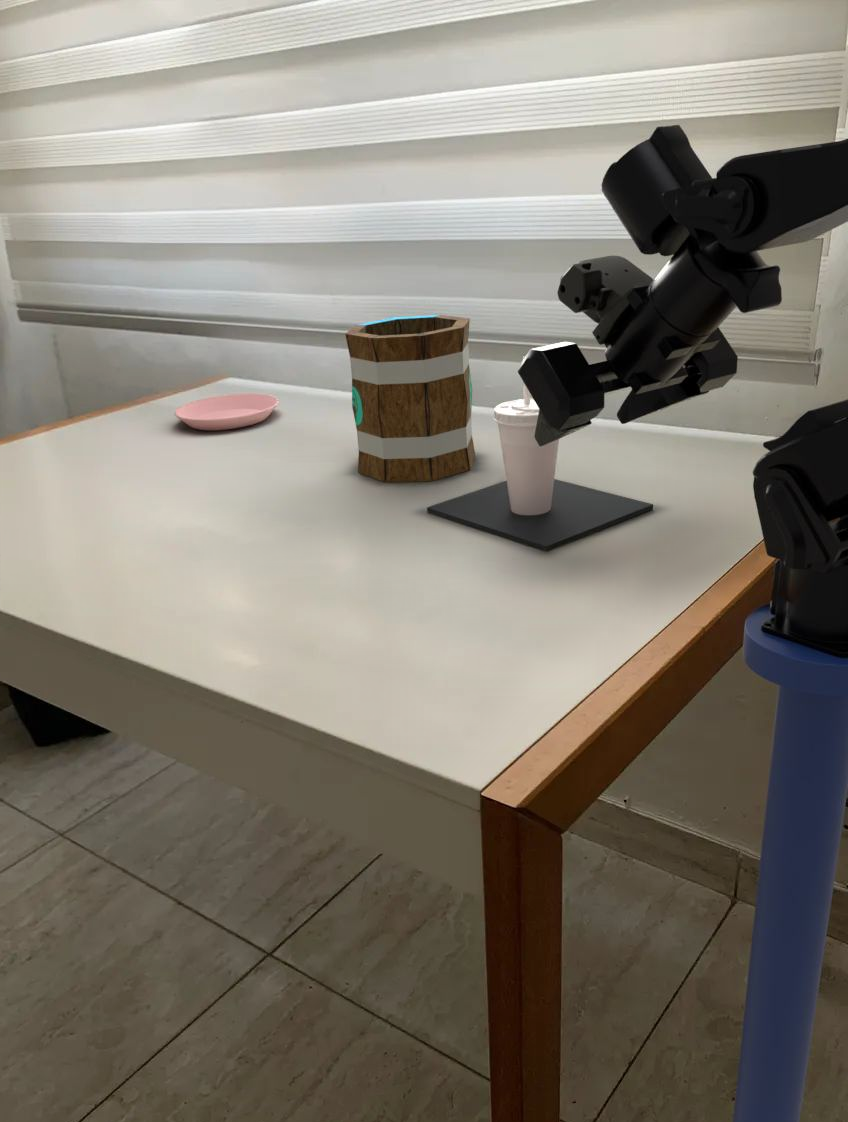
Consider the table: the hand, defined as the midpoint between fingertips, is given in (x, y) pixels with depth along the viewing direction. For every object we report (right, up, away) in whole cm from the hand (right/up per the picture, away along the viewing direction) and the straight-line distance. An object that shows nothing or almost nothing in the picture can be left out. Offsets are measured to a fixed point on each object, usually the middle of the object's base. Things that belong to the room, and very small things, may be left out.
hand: (580, 430), depth 87 cm
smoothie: (-3, -6, +9) cm, 11 cm away
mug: (-13, +3, +30) cm, 33 cm away
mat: (-2, -6, +10) cm, 12 cm away
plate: (-37, +12, +54) cm, 67 cm away
